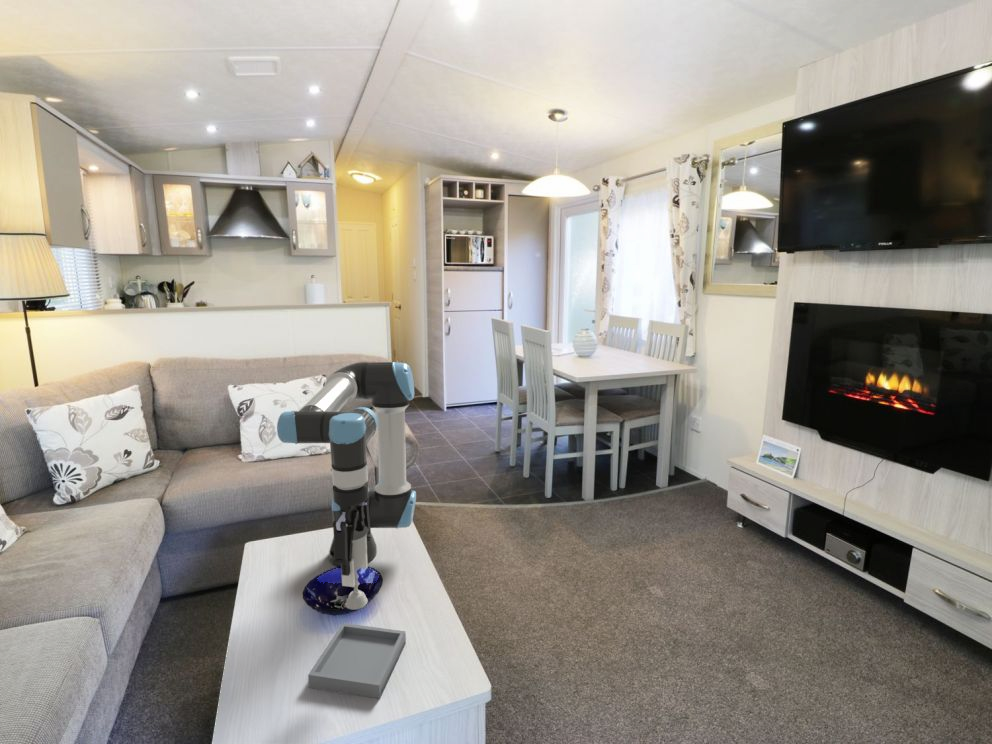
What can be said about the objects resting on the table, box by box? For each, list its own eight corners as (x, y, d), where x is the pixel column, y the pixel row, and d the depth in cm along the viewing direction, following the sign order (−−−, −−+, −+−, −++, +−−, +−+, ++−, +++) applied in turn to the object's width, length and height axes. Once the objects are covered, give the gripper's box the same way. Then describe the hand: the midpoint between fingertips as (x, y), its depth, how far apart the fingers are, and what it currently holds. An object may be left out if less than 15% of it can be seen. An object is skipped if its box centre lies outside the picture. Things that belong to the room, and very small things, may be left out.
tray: (343, 634, 131) (342, 623, 130) (405, 643, 128) (405, 631, 127) (309, 687, 114) (308, 674, 114) (380, 698, 112) (379, 685, 111)
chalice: (363, 614, 113) (359, 542, 110) (335, 610, 115) (330, 539, 111) (376, 594, 120) (373, 526, 117) (350, 590, 122) (346, 522, 118)
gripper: (353, 465, 121) (357, 551, 126) (312, 501, 103) (319, 601, 107) (382, 467, 120) (386, 554, 125) (346, 504, 101) (352, 605, 106)
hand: (355, 576), depth 116 cm, fingers closed on chalice, 6 cm apart
